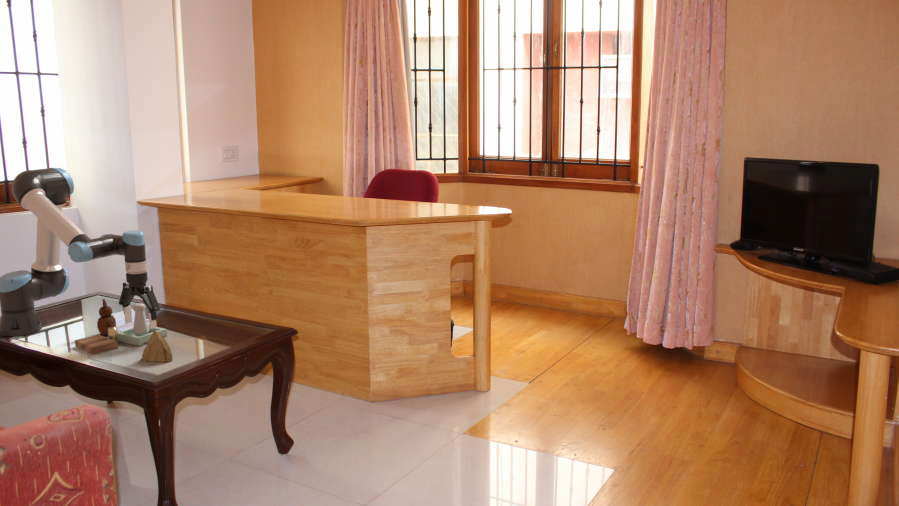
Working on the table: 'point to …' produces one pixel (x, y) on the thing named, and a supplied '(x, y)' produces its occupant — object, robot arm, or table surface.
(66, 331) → the table surface
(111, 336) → the bench dog
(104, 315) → the wooden figurine
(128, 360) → the table surface
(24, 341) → the table surface
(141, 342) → the tray
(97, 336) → the brown grooved block
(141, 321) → the salt shaker
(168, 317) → the table surface
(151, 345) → the tan rounded pyramid
